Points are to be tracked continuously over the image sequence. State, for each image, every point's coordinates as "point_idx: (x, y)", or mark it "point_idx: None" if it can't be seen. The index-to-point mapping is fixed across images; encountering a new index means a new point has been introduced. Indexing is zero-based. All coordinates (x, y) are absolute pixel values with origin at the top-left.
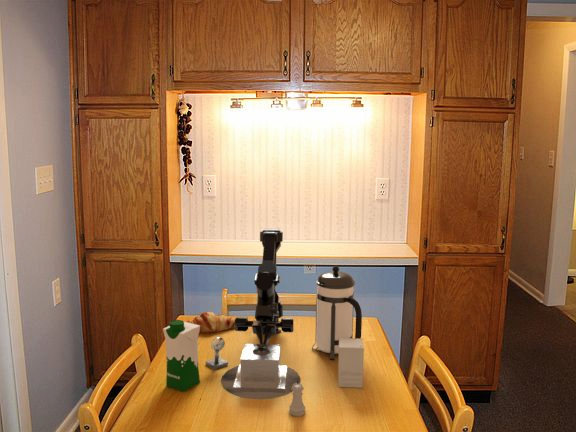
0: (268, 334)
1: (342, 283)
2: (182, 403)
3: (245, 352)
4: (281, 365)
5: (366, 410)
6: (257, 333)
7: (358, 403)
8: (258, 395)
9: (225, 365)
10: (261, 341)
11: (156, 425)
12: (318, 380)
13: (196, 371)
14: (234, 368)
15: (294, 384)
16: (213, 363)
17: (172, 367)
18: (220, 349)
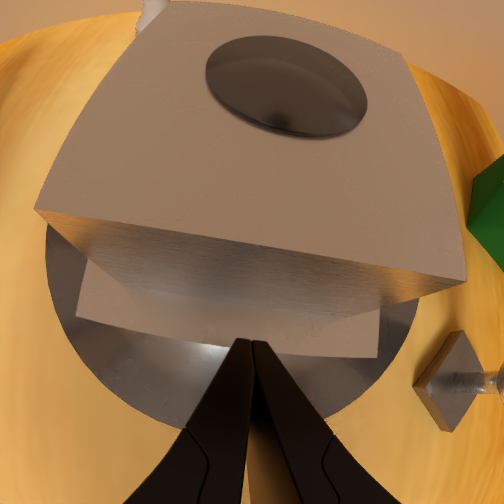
0: (156, 492)
1: None
2: (452, 130)
3: (410, 105)
4: (109, 378)
5: (13, 62)
6: (389, 496)
7: (5, 80)
8: None
9: (424, 375)
10: (285, 402)
11: (447, 85)
12: (3, 189)
13: (499, 178)
14: (386, 352)
15: None
16: (468, 361)
17: None
18: (501, 375)
